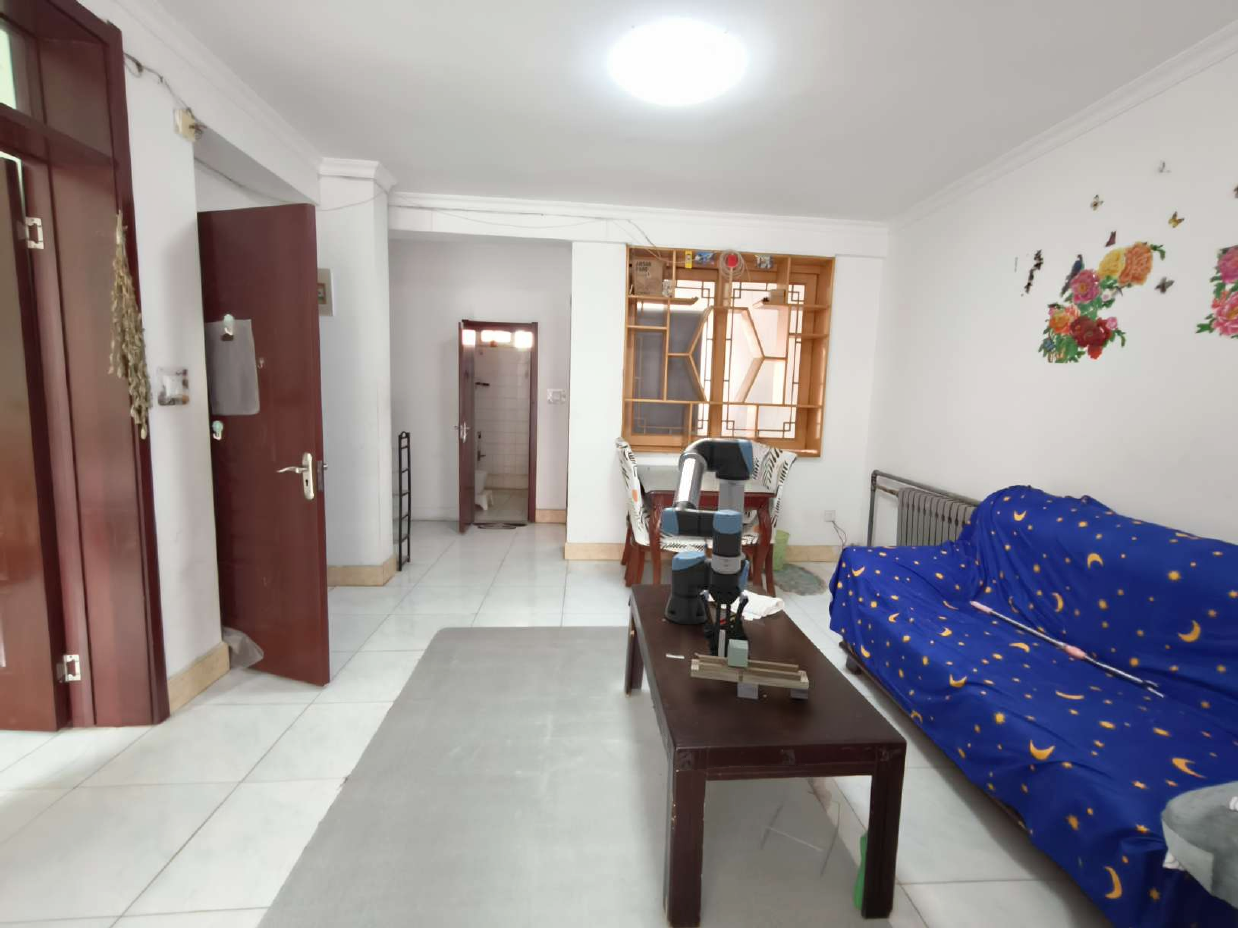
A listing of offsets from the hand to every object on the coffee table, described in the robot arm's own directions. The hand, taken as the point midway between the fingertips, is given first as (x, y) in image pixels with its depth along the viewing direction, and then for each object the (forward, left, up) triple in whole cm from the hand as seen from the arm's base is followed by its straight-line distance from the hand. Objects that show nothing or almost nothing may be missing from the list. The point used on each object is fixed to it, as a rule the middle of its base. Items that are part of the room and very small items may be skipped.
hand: (721, 654), depth 145 cm
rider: (0, +4, -3) cm, 5 cm away
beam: (0, +7, -9) cm, 12 cm away
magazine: (-14, +2, -10) cm, 17 cm away
